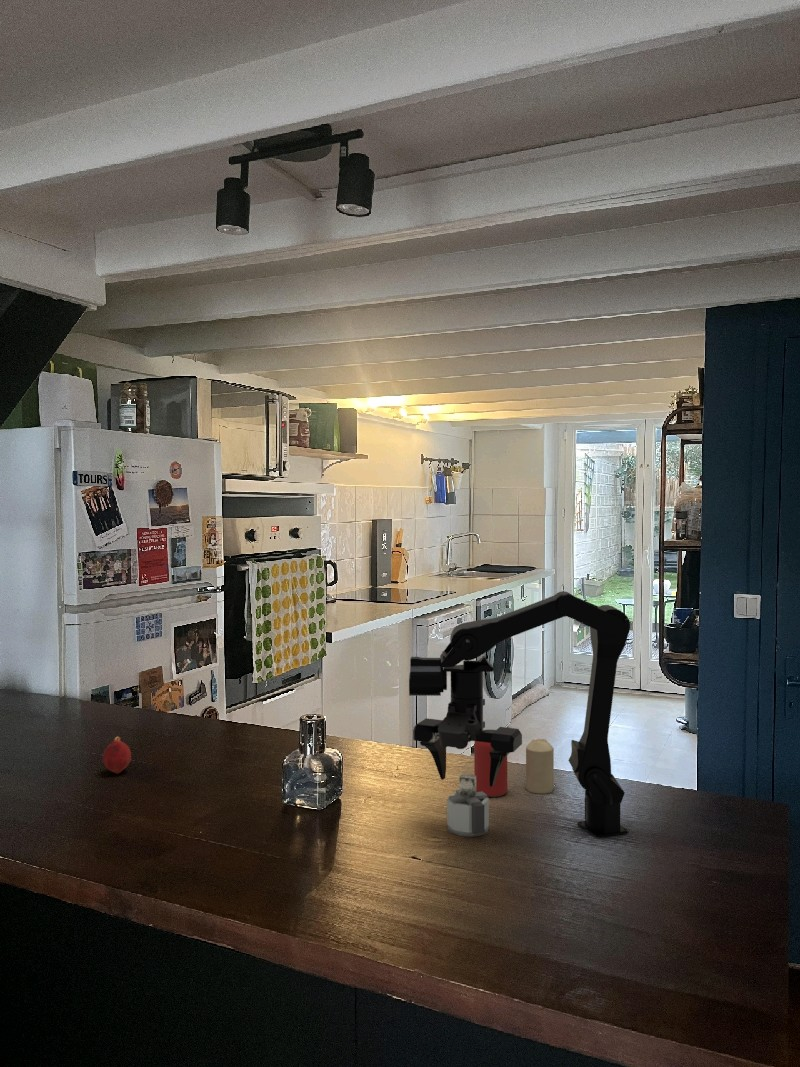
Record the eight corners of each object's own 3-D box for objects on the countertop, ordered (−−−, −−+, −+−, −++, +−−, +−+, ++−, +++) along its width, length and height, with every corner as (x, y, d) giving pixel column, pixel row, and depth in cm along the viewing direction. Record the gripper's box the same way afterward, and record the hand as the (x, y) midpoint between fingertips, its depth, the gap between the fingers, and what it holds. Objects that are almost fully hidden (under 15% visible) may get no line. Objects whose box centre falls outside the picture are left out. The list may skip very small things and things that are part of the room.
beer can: (506, 799, 161) (505, 738, 160) (472, 797, 162) (472, 737, 161) (508, 787, 167) (508, 729, 167) (476, 785, 168) (476, 727, 168)
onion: (125, 778, 175) (125, 741, 175) (99, 778, 175) (98, 741, 175) (135, 769, 181) (134, 733, 180) (109, 769, 181) (108, 733, 181)
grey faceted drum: (498, 835, 143) (498, 801, 143) (460, 842, 141) (460, 807, 140) (477, 818, 151) (477, 786, 151) (441, 824, 148) (441, 791, 148)
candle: (545, 796, 162) (545, 746, 162) (521, 790, 166) (521, 741, 165) (558, 788, 167) (558, 739, 166) (534, 782, 170) (534, 735, 170)
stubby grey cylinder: (485, 822, 145) (485, 779, 145) (461, 826, 143) (461, 782, 143) (474, 813, 149) (474, 771, 149) (451, 816, 148) (450, 774, 147)
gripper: (399, 700, 142) (400, 789, 143) (503, 711, 134) (503, 805, 135) (425, 687, 152) (425, 770, 153) (522, 696, 144) (522, 784, 145)
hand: (467, 782), depth 146 cm, fingers open, 9 cm apart
